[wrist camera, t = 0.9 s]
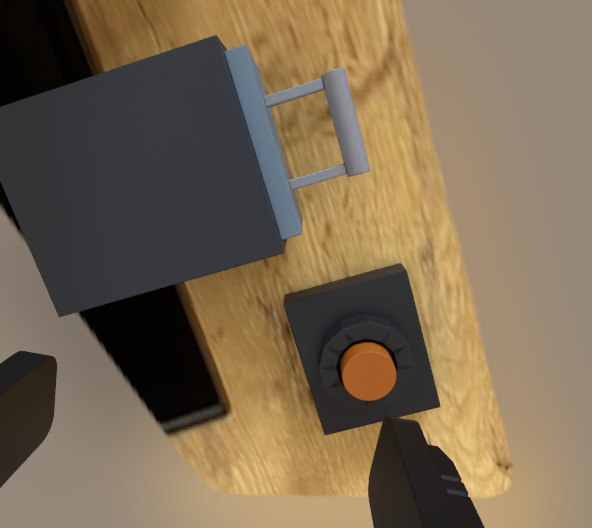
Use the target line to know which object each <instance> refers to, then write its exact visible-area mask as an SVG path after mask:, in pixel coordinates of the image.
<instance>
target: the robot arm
mask: <svg viewBox="0 0 592 528" xmlns="http://www.w3.org/2000/svg"><path fill="white" fill-rule="evenodd" d="M56 373H57V362H56V359H55V358H54V357H53V356H48V355H43V354H37V353H31V352H26V351H19V352H17V353H15V354H14V355H12V356H11V357H9V358H8V359H6V360H5V361H3V362H2V363H1V364H0V488H1V486H2V485H3V484H4V483H5V482H6V481H7V480H8V479H9V478H10V477H11V476H12V474H13V473H14V472H15V471H16V470H17V469H18V468H19V467H20V466H21V464H23V463H24V462H25V461H26V459H27V458H28V457H29V456H30V455H31V454H32V453H33V452H34V451H35V450H36V448H38V446H39V445H40V444H41V443H42V442H43V441H44V439H45V438H46V436H47V434H48V432H49V430H50V428H51V425H52V422H53V417H54V404H55V390H56ZM368 496H369V503H370V508H371V514H372V520H373V525H374V528H484V526H483V524H482V522H481V519H480V517H479V515H478V513H477V511H476V509H475V507H474V505H473V503H472V501H471V498H470V497H468V492H467V490H466V488H465V486H464V484H463V483H461V477H460V475H459V473H458V471H457V469H456V467H455V465H454V463H453V462H452V461H451V460H450V459H449V457H448V456H447V455H446V454H445V453H444V452H443V451H442V450H441V449H440V448H439V447H438V446H432V445H428V444H427V442H426V439H425V437H424V435H423V432H422V430H421V427H420V425H419V423H418V422H417V421H413V420H407V419H401V418H396V417H390V416H386V417H385V418H384V420H383V423H382V427H381V430H380V434H379V438H378V442H377V446H376V450H375V454H374V458H373V462H372V466H371V470H370V475H369V485H368Z"/></svg>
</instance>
